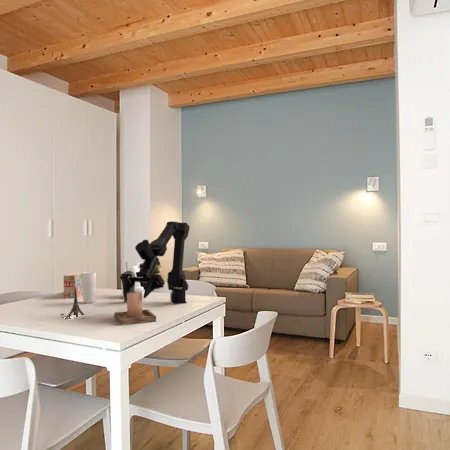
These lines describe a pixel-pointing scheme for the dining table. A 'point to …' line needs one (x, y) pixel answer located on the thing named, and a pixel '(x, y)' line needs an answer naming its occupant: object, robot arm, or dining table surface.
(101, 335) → the dining table surface
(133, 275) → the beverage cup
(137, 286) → the honey pot
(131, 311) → the pinkish-brown upright cylinder
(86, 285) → the white tall cylinder
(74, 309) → the eiffel tower figurine
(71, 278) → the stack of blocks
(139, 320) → the tray
